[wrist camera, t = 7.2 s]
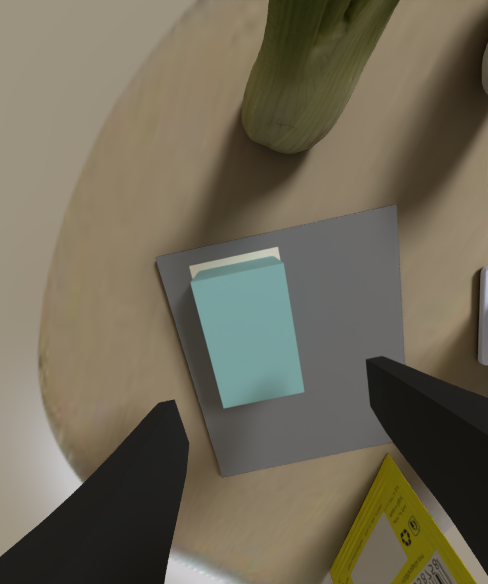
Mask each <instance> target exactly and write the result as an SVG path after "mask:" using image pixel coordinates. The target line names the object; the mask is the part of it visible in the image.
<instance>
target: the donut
mask: <svg viewBox="0 0 488 584" xmlns="http://www.w3.org/2000/svg"><path fill="white" fill-rule="evenodd" d="M482 85H483V88H484V91H485V92H486V93H487V94H488V43H487V46H486V49H485V52H484V55H483V61H482Z"/></svg>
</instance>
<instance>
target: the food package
mask: <svg viewBox="0 0 488 584" xmlns="http://www.w3.org/2000/svg"><path fill="white" fill-rule="evenodd" d="M330 574H331V578H332V581H333V584H477V583H476V581H475V580H474V578H473V577H472V576H471V574H470V573H469V571H468V570H467V568H466V567H465V565H464V564H463V562H462V561H461V559H460V558H459V557H458V555H457V554H456V552H455V551H454V549H453V548H452V546H451V545H450V543H449V542H448V540H447V539H446V538H445V536H444V535H443V533H442V532H441V530H440V529H439V527H438V526H437V524H436V523H435V521H434V520H433V519H432V517H431V516H430V514H429V513H428V511H427V510H426V508H425V507H424V505H423V504H422V502H421V501H420V500H419V498H418V497H417V495H416V494H415V492H414V491H413V489H412V488H411V486H410V485H409V483H408V482H407V480H406V479H405V478H404V476H403V475H402V473H401V472H400V470H399V468H398V467H397V465H396V464H395V463H394V461H393V460H392V458H391V456H390V455H389V454H388V453H387V455H386V457H385V459H384V461H383V463H382V465H381V467H380V470H379V472H378V474H377V476H376V478H375V480H374V482H373V484H372V486H371V488H370V490H369V492H368V494H367V496H366V498H365V500H364V502H363V504H362V506H361V509H360V511H359V513H358V515H357V517H356V519H355V521H354V523H353V525H352V527H351V529H350V531H349V533H348V535H347V537H346V539H345V541H344V543H343V545H342V547H341V549H340V551H339V553H338V555H337V557H336V559H335V560H334V563H333V565H332V567H331V569H330Z"/></svg>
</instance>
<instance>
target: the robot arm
mask: <svg viewBox="0 0 488 584" xmlns="http://www.w3.org/2000/svg"><path fill="white" fill-rule="evenodd" d="M478 361H479V363H481V364H483V365H488V265H487V266H485V267H484V268H483V269H482V270H481V280H480V310H479V339H478ZM366 370H367V380H368V390H369V400H370V407H371V408H372V410H373V412H374V413H375V415H376V417H377V419H378V420H379V422H380V424H381V425H382V427H383V429H384V430H385V432H386V433H387V435H388V436H389V437H390V439H391V440H392V441H393V443H394V444H395V445H396V447H397V448H398V449H399V451H400V452H401V453H402V455H403V456H404V457H405V459H406V460H407V461H408V462H409V464H410V465H411V466H412V468H413V469H414V470H415V472H416V473H417V474H418V476H419V477H420V478H421V479H422V481H423V482H424V483H425V485H426V486H427V487H428V489H429V490H430V491H431V493H432V494H433V495H434V496H435V498H436V499H437V500H438V502H439V503H440V504H441V506H442V507H443V509H444V510H445V511H446V513H447V514H448V516H449V517H450V518H451V520H452V521H453V523H454V524H455V526H456V527H457V529H458V530H459V532H460V533H461V535H462V537H463V538H464V540H465V541H466V543H467V544H468V546H469V547H470V549H471V550H472V552H473V553H474V555H475V556H476V558H477V559H478V561H479V563H480V564H481V566H482V567H483V569H484V570H485V572H486V574H487V575H488V398H486V397H483V396H481V395H478V394H475V393H473V392H470V391H467V390H465V389H462V388H459V387H457V386H454V385H452V384H449V383H447V382H444V381H442V380H439V379H437V378H435V377H432V376H430V375H427V374H425V373H423V372H420V371H418V370H416V369H413V368H411V367H409V366H406V365H404V364H401V363H399V362H397V361H394V360H392V359H389V358H387V357H384V356H379V357H374V358H369V359H366ZM188 452H189V441H188V438H187V435H186V432H185V429H184V426H183V423H182V420H181V417H180V414H179V411H178V408H177V405H176V402H175V400H170V401H165V402H160V403H158V404H157V405H156V406H155V407H154V408H153V409H152V410H151V411H150V412H149V413H148V415H147V416H146V417H145V418H144V419H143V420H142V421H141V422H140V424H139V425H138V426H137V427H136V428H135V429H134V430H133V431H132V432H131V434H130V435H129V436H128V437H127V438H126V439H125V440H124V441H123V442H122V444H121V445H120V446H119V447H118V448H117V449H116V450H115V451H114V452H113V453H112V454H111V455H110V456H109V457H108V458H107V460H106V461H105V462H104V463H103V464H102V465H101V466H100V467H99V468H98V469H97V470H96V471H95V472H94V473H93V474H92V475H91V476H90V477H89V478H88V479H87V480H86V481H85V482H84V483H83V484H82V485H81V486H80V487H79V488H78V489H77V490H76V491H75V492H74V493H73V494H72V495H71V496H70V497H69V498H68V499H66V500H65V501H64V502H63V503H62V504H61V505H60V506H59V507H58V508H57V509H56V510H54V512H52V513H51V514H50V515H49V516H48V517H47V518H46V519H45V520H43V521H42V522H41V523H40V524H39V525H38V526H36V527H35V528H34V529H33V530H32V531H30V532H29V533H28V534H27V535H26V536H24V537H23V538H22V539H21V540H20V541H19V542H18V543H16V544H15V545H14V546H13V547H11V548H10V549H9V550H8V551H7V552H5V553H4V554H3V555H2V556H1V557H0V584H164V581H165V575H166V569H167V564H168V558H169V553H170V549H171V544H172V539H173V535H174V530H175V525H176V521H177V516H178V511H179V507H180V502H181V497H182V492H183V488H184V483H185V478H186V472H187V463H188Z"/></svg>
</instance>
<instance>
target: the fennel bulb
mask: <svg viewBox="0 0 488 584" xmlns="http://www.w3.org/2000/svg"><path fill="white" fill-rule="evenodd" d="M399 1H400V0H269V4H268V16H267V24H266V28H265V34H264V39H263V43H262V46H261V49H260V51H259V54H258V57H257V59H256V61H255V63H254V65H253V68H252V70H251V73H250V76H249V79H248V82H247V86H246V89H245V93H244V98H243V104H242V119H241V120H242V124H243V126H244V129H245V131H246V132H247V135H248V137H249V138H250V139H251V140H252V141H254V142H256V143H258V144H260V145H263V146H266V147H268V148H270V149H272V150H274V151H277V152H280V153H285V154H293V153H297V152H301V151H304V150H307V149H309V148H311V147H312V146H314V145H315V144H316V143H318V142H319V141H320V140H321V139H323V138H324V137H325V136H326V135H327V134H328V132H329V131H330V130H331V129H332V127H333V126H334V125H335V123H336V122H337V120H338V118H339V117H340V115H341V113H342V112H343V110H344V108H345V106H346V104H347V102H348V101H349V99H350V97H351V94H352V93H353V90H354V88H355V86H356V84H357V82H358V80H359V78H360V75H361V73H362V71H363V69H364V67H365V65H366V63H367V61H368V59H369V57H370V55H371V53H372V52H373V50H374V48H375V46H376V44H377V42H378V40H379V38H380V36H381V35H382V33H383V31H384V29H385V27H386V25H387V23H388V21H389V19H390V17H391V15H392V13H393V11H394V9H395V7H396V6H397V4H398V2H399Z"/></svg>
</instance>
